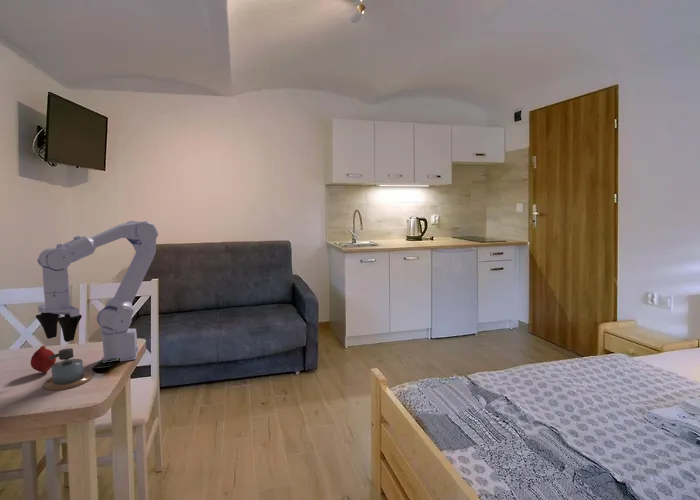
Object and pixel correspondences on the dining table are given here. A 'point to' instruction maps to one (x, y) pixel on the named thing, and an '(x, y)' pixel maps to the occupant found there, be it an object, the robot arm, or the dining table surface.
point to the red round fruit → (42, 360)
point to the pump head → (63, 354)
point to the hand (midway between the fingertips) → (60, 339)
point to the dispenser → (67, 375)
